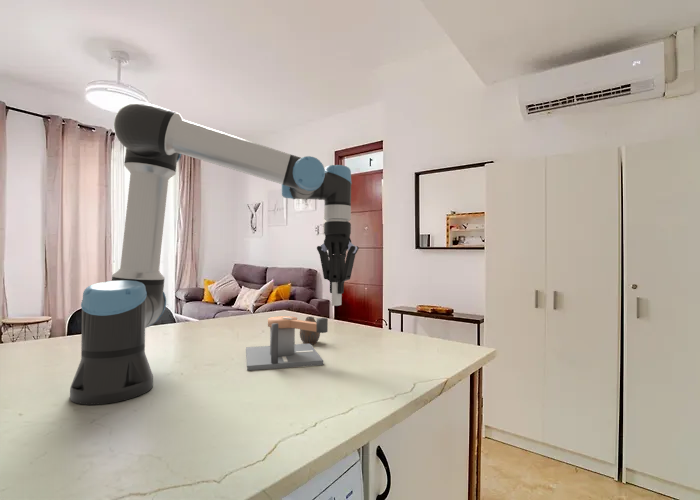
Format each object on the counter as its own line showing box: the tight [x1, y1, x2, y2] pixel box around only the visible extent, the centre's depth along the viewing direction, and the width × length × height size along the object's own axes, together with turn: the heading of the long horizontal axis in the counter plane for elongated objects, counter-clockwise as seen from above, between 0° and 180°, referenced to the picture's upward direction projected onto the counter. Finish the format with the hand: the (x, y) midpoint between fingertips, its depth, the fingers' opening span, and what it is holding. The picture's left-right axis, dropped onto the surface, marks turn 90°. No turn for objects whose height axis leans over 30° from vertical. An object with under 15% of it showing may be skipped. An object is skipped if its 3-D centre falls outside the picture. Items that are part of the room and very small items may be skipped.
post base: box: [245, 323, 324, 371], centre depth 109 cm, size 20×20×12 cm
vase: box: [299, 316, 321, 345], centre depth 128 cm, size 7×7×9 cm
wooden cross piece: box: [267, 315, 329, 334], centre depth 106 cm, size 20×8×4 cm, turn 56°
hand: (336, 305), depth 106 cm, fingers closed
